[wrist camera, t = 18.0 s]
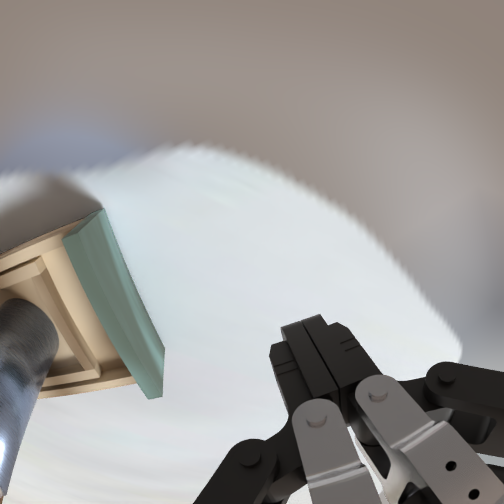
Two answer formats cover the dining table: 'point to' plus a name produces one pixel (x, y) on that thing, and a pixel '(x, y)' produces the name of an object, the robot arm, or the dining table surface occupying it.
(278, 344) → the robot arm
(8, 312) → the can
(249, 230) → the dining table surface
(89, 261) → the wooden drawer
